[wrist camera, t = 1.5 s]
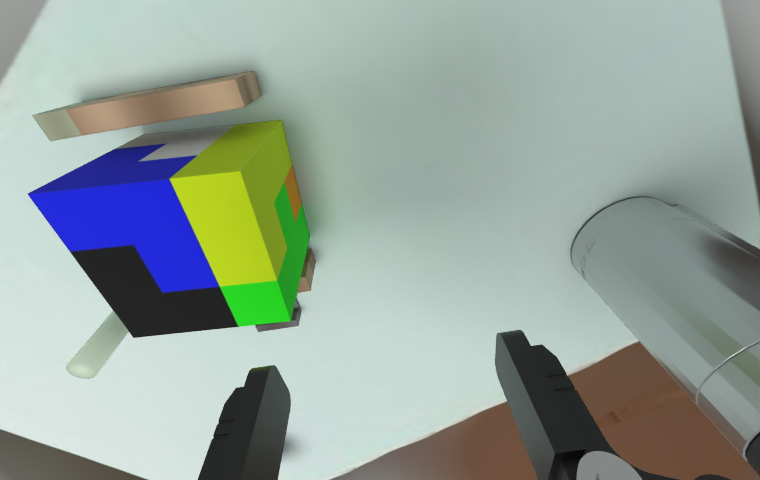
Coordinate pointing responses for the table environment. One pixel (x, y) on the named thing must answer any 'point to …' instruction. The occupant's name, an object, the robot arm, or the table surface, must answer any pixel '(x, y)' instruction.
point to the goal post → (98, 348)
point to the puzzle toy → (187, 228)
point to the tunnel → (158, 109)
